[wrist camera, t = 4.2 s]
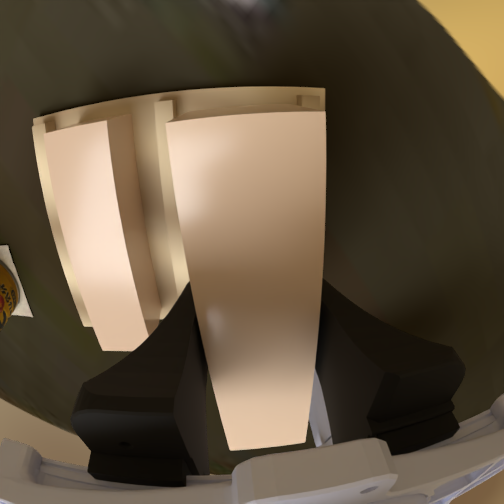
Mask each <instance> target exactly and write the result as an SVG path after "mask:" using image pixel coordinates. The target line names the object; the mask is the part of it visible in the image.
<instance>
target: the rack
mask: <svg viewBox="0 0 504 504" xmlns="http://www.w3.org/2000/svg"><path fill="white" fill-rule="evenodd" d="M270 104H292V105H297V106H302V107H307V108H312V109H317V110H321V111H325V88H311V87H226V88H209V89H195V90H184V91H174V92H165V93H157V94H149V95H142V96H135V97H129V98H123V99H117V100H112V101H106V102H101V103H96V104H91V105H86V106H82V107H77V108H73V109H69V110H65V111H61V112H57V113H53V114H49V115H45V116H42V117H38V118H35V119H33V122H34V126H33V127H32V130H33V138H34V145H35V152H36V158H37V164H38V170H39V175H40V180H41V185H42V190H43V195H44V200H45V204H46V208H47V213H48V217H49V221H50V225H51V229H52V232H53V236H54V240H55V243H56V247H57V250H58V254H59V257H60V260H61V263H62V267H63V270H64V273H65V276H66V279H67V282H68V285H69V288H70V291H71V293H72V296H73V299H74V302H75V304H76V307H77V310H78V312H79V315H80V318H81V320H82V323H83V325H84V326H90V327H93V325H92V323H91V320H90V318H89V315H88V312H87V309H86V307H85V304H84V301H83V298H82V295H81V292H80V289H79V286H78V283H77V280H76V277H75V274H74V271H73V268H72V264H71V261H70V258H69V254H68V251H67V247H66V244H65V240H64V236H63V232H62V229H61V225H60V220H59V216H58V212H57V208H56V203H55V199H54V194H53V189H52V184H51V179H50V173H49V168H48V162H47V156H46V149H45V142H44V133H47V132H50V131H54V130H57V129H60V128H63V127H66V126H70V125H73V124H76V123H81V122H85V121H90V120H96V119H101V118H106V117H112V116H118V115H124V114H131V113H132V123H133V134H134V144H135V153H136V162H137V170H138V178H139V186H140V193H141V200H142V207H143V213H144V219H145V226H146V232H147V237H148V243H149V249H150V254H151V260H152V265H153V270H154V275H155V280H156V285H157V289H158V294H159V299H160V303H161V308H162V309H161V314H160V319H164V318H165V317H166V315H167V314H168V313H169V311H170V310H171V308H172V307H173V305H174V304H175V302H176V301H177V299H178V298H179V296H180V295H181V293H182V291H183V290H184V288H185V286H186V284H187V283H188V282H189V281H190V280H189V274H188V269H187V264H186V258H185V253H184V247H183V241H182V236H181V230H180V224H179V218H178V211H177V205H176V199H175V192H174V185H173V178H172V171H171V164H170V156H169V149H168V141H167V132H166V124H165V123H166V122H168V121H170V120H172V119H174V118H176V117H178V116H180V115H182V114H184V113H186V112H188V111H196V110H205V109H214V108H225V107H237V106H251V105H270Z"/></svg>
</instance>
